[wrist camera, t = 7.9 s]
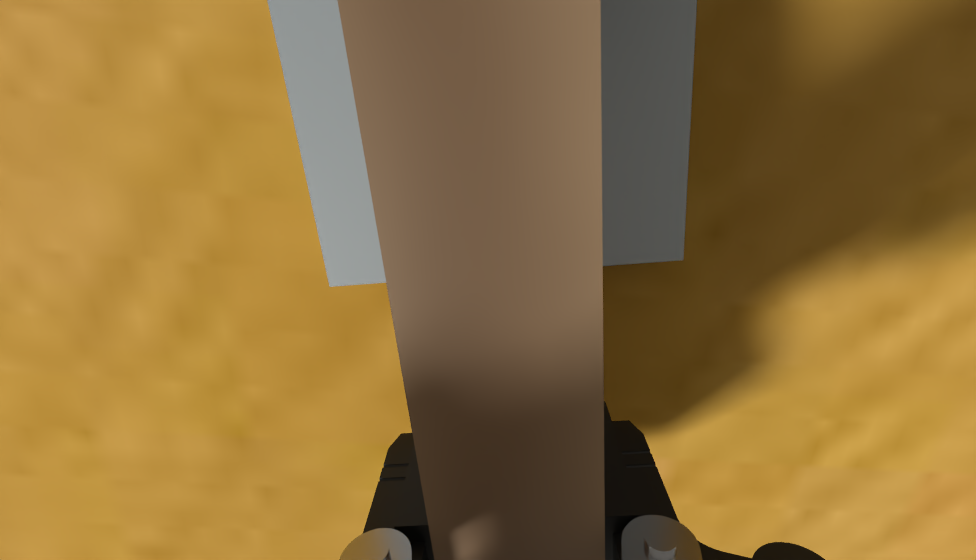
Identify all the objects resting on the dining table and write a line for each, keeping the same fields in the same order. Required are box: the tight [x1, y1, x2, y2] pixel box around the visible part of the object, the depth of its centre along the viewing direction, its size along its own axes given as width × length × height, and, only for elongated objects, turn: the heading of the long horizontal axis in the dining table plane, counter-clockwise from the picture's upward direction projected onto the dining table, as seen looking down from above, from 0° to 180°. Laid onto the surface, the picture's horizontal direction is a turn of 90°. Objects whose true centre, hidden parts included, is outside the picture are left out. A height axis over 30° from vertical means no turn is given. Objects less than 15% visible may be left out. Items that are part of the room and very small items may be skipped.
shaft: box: [337, 0, 605, 560], centre depth 8 cm, size 3×23×3 cm, turn 5°
